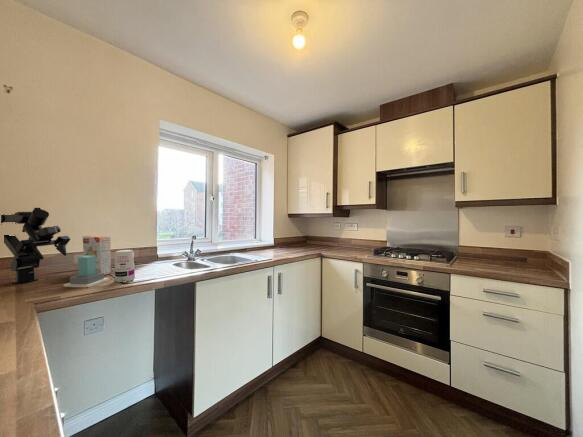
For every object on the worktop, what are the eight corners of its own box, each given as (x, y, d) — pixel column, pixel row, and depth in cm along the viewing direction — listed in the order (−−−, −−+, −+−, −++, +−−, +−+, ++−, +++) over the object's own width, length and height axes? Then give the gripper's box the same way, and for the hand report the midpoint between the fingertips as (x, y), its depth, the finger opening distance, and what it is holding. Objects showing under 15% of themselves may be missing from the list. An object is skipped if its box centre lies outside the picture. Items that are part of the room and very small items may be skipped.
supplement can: (131, 277, 131) (130, 248, 131) (137, 280, 126) (136, 250, 126) (112, 280, 125) (112, 251, 124) (118, 284, 120) (117, 253, 119)
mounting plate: (63, 286, 115) (63, 278, 115) (86, 279, 127) (86, 271, 127) (88, 287, 115) (88, 278, 114) (109, 279, 127) (109, 272, 126)
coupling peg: (79, 282, 119) (78, 257, 118) (87, 279, 123) (86, 255, 123) (88, 282, 119) (87, 257, 118) (95, 279, 123) (95, 255, 122)
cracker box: (83, 273, 138) (82, 235, 137) (95, 271, 143) (94, 234, 142) (100, 276, 133) (98, 237, 132) (111, 273, 138) (110, 235, 137)
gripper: (18, 221, 107) (38, 248, 105) (67, 219, 126) (84, 242, 124) (6, 239, 110) (26, 265, 108) (55, 234, 128) (73, 257, 126)
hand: (54, 256), depth 116 cm, fingers open, 9 cm apart
